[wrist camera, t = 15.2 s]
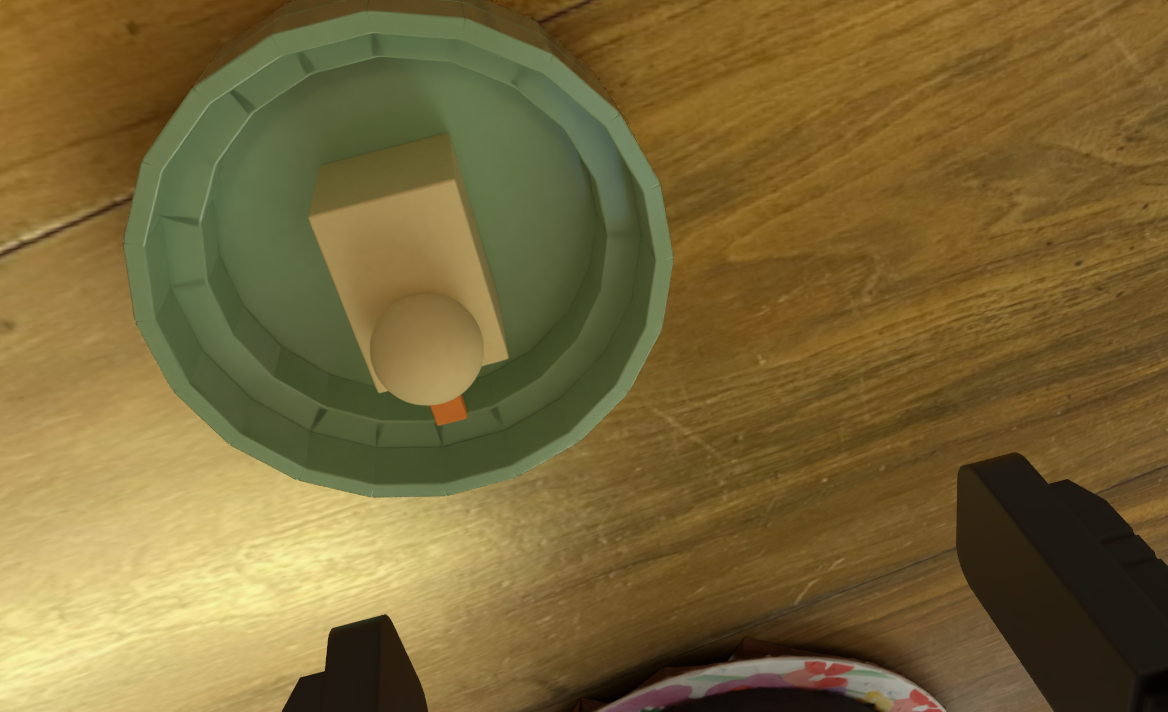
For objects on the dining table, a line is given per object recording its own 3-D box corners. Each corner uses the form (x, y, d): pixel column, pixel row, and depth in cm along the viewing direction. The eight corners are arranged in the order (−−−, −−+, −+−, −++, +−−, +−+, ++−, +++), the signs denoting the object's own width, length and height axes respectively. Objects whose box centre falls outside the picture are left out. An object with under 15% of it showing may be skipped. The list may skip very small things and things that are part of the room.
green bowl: (70, 53, 29) (13, 100, 24) (588, -79, 29) (618, -55, 25) (274, 461, 37) (257, 547, 33) (671, 355, 38) (704, 427, 34)
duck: (318, 165, 31) (296, 261, 25) (449, 131, 31) (459, 218, 25) (388, 347, 35) (383, 470, 29) (504, 316, 35) (525, 432, 29)
